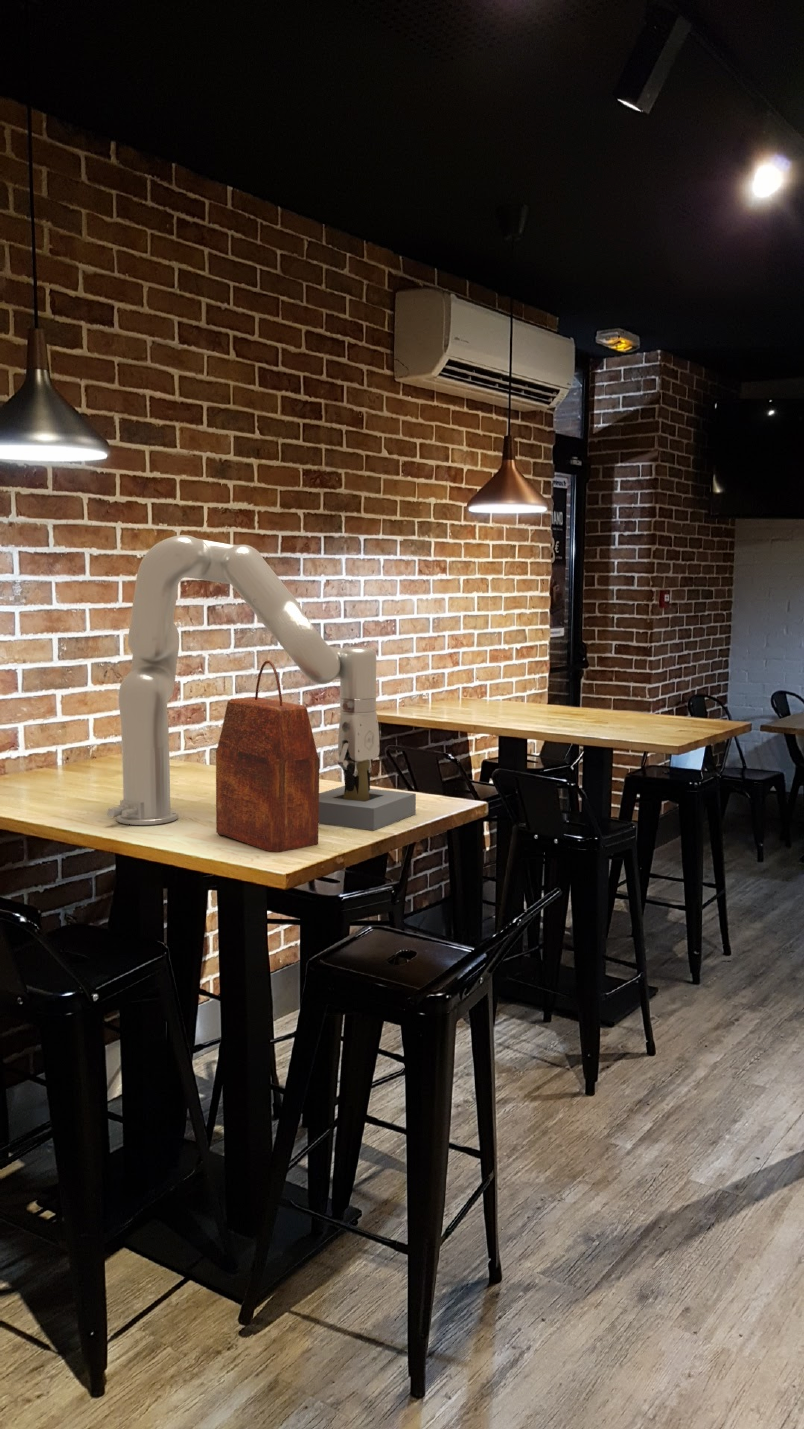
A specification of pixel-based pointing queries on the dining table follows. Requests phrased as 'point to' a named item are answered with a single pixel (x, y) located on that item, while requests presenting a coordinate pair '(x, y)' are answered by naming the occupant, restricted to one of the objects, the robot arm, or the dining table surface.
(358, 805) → the well block
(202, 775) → the dining table surface
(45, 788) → the dining table surface
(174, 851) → the dining table surface
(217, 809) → the handbag
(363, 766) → the cork
